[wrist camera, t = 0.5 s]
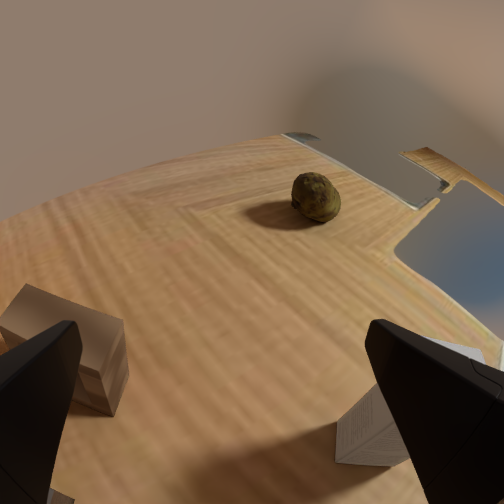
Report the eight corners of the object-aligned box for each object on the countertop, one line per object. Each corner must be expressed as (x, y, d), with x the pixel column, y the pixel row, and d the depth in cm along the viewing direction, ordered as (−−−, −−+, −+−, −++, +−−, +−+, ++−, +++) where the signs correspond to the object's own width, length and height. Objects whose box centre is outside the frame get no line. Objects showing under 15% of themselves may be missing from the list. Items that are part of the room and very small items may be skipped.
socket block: (113, 416, 19) (98, 371, 15) (26, 378, 18) (-4, 323, 14) (129, 374, 22) (123, 319, 18) (46, 342, 21) (26, 283, 17)
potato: (352, 226, 52) (371, 186, 48) (300, 236, 45) (319, 187, 40) (321, 201, 57) (336, 163, 53) (268, 206, 50) (282, 161, 45)
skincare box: (392, 427, 23) (482, 348, 16) (393, 467, 19) (498, 399, 12) (334, 418, 23) (419, 331, 16) (331, 463, 19) (432, 391, 13)
